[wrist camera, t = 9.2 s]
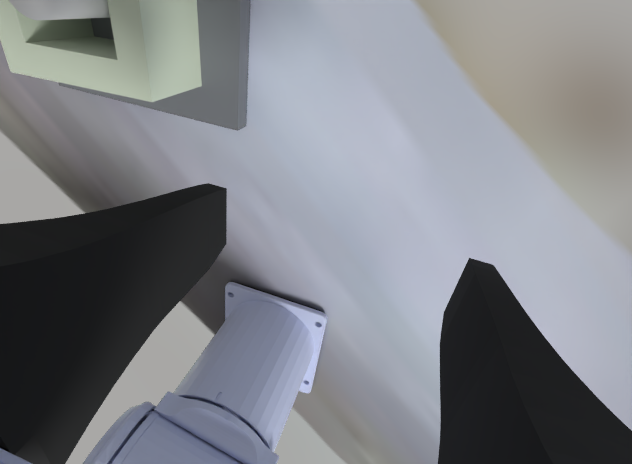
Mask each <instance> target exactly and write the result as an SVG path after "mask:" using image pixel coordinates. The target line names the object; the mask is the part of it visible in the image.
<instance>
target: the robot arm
mask: <svg viewBox="0 0 632 464" xmlns="http://www.w3.org/2000/svg"><path fill="white" fill-rule="evenodd" d="M225 245H226V188H223V187H219V186H216V185H212V184H209V183H208V184H202V185H197V186H193V187H189V188H185V189H182V190H178V191H175V192H171V193H167V194H164V195H160V196H157V197H153V198H149V199H146V200H142V201H138V202H134V203H130V204H126V205H122V206H118V207H114V208H109V209H105V210H100V211H96V212H90V213H85V214H79V215H74V216H67V217H61V218H55V219H45V220H37V221H27V222H18V223H9V224H0V464H65V463H66V461H67V459H68V458H69V456H70V455H71V453H72V451H73V449H74V448H75V446H76V444H77V443H78V441H79V440H80V438H81V436H82V435H83V433H84V431H85V430H86V428H87V426H88V425H89V423H90V421H91V420H92V418H93V417H94V415H95V414H96V412H97V411H98V409H99V408H100V406H101V405H102V403H103V401H104V400H105V398H106V397H107V395H108V394H109V392H110V391H111V389H112V387H113V386H114V384H115V383H116V382H117V380H118V379H119V377H120V376H121V375H122V373H123V372H124V370H125V369H126V367H127V366H128V365H129V363H130V362H131V360H132V359H133V357H134V356H135V355H136V353H137V352H138V351H139V349H140V348H141V347H142V345H143V344H144V343H145V341H146V340H147V338H148V337H149V336H150V334H151V333H152V332H153V330H154V329H155V328H156V327H157V326H158V324H159V323H160V322H161V321H162V320H163V319H164V317H165V316H166V315H167V314H168V313H169V312H170V311H171V310H172V309H173V308H174V306H176V304H177V303H178V302H179V301H180V300H181V299H182V298H183V297H184V296H185V295H186V294H187V293H188V291H189V290H190V289H191V288H192V287H193V286H194V285H195V284H196V283H197V282H198V281H199V279H200V278H201V277H202V276H203V275H204V274H205V273H206V272H207V270H208V269H209V268H210V267H211V265H212V264H213V263H214V261H215V260H216V258H217V257H218V255H219V254H220V252H221V251H222V249H223V248H224V246H225ZM232 293H233V294H232ZM318 322H319V323H318ZM326 322H327V316H326V314H325V313H323V312H321V311H318V310H315V309H312V308H309V307H306V306H303V305H300V304H297V303H294V302H291V301H288V300H285V299H282V298H279V297H276V296H273V295H270V294H267V293H264V292H261V291H258V290H255V289H252V288H249V287H246V286H243V285H240V284H237V283H234V282H229V283H227V285H226V286H225V322H224V323H223V325H222V326H221V327H220V329H219V330H218V332H217V333H216V334H215V336H214V337H213V338H212V340H211V341H210V343H209V344H208V345H207V347H206V348H205V350H204V351H203V352H202V354H201V355H200V357H199V358H198V359H197V361H196V362H195V363H194V365H193V366H192V368H191V369H190V371H189V372H188V373H187V375H186V376H185V377H184V379H183V380H182V381H181V383H180V384H179V386H178V387H177V388H176V390H175V391H174V393H171V392H167V393H166V394H165V396H164V397H163V398H162V400H161V401H160V403H159V404H158V405H157V407H156V406H154V405H153V404H152V403H150V402H144V403H142V404H141V405H138V406H135V407H132V408H130V409H129V410H127V411H126V412H125V413H124V414H123V415H122V416H121V417H120V418H119V419H118V420H117V421H116V422H115V423H114V424H113V425H112V426H111V428H110V429H109V430H108V431H107V432H106V433H105V435H104V436H103V437H102V438H101V440H100V441H99V442H98V444H97V445H96V446H95V447H94V449H93V450H92V452H91V453H90V454H89V455H88V457H87V458H86V460H85V461H84V463H83V464H277V462H278V459H279V456H278V455H277V454H275V453H274V451H275V449H276V446H277V444H278V441H279V439H280V436H281V434H282V431H283V429H284V426H285V424H286V421H287V419H288V416H289V414H290V411H291V409H292V406H293V404H294V401H295V399H296V396H297V394H298V391H301V392H304V393H310V392H311V389H312V385H313V381H314V376H315V372H316V367H317V363H318V358H319V354H320V349H321V345H322V340H323V336H324V331H325V327H326ZM320 323H321V324H320ZM440 399H441V431H440V447H439V458H438V464H632V431H631V430H630V429H629V428H628V427H627V426H626V425H625V424H624V423H623V422H622V421H621V420H620V419H618V418H617V417H616V416H615V415H614V414H613V413H612V412H611V411H610V410H609V409H608V408H607V407H606V406H605V405H604V404H603V403H602V402H601V401H600V400H599V399H598V398H597V397H596V396H595V395H594V394H593V392H592V391H591V390H590V389H589V388H588V387H587V386H586V385H585V384H584V383H583V382H582V381H581V380H580V378H579V377H578V376H577V375H576V374H575V373H574V372H573V371H572V370H571V369H570V368H569V366H568V365H567V364H566V363H565V362H564V361H563V359H562V358H561V357H560V356H559V355H558V353H557V352H556V351H555V350H554V348H553V347H552V346H551V345H550V343H549V342H548V341H547V340H546V339H545V337H544V336H543V335H542V333H541V332H540V331H539V329H538V328H537V327H536V326H535V324H534V323H533V321H532V320H531V319H530V317H529V316H528V315H527V313H526V312H525V310H524V309H523V308H522V306H521V305H520V303H519V302H518V300H517V299H516V297H515V296H514V295H513V293H512V292H511V290H510V289H509V287H508V286H507V284H506V283H505V281H504V280H503V278H502V277H501V275H500V274H499V272H498V271H497V270H496V268H495V267H494V266H493V265H492V264H488V263H485V262H481V261H478V260H474V259H471V258H469V260H468V262H467V264H466V266H465V268H464V271H463V273H462V275H461V277H460V279H459V281H458V283H457V286H456V288H455V290H454V292H453V294H452V296H451V298H450V301H449V303H448V305H447V307H446V309H445V311H444V316H443V323H442V331H441V340H440Z"/></svg>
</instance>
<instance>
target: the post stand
mask: <svg viewBox="0 0 632 464" xmlns="http://www.w3.org/2000/svg"><path fill="white" fill-rule="evenodd" d="M9 1H10V3H11V4H12V5H13V6H14V7H15V8H16V9H17V10H18V11H19V12H20V13H22V14H23V15H25V16H26V17H28V18H30V19H33V20H60V19H85V18H91V23H92V28H93V33H94V36H95V37H101V38H106V39H112V40H114V37H113V31H112V25H111V19H110V13H109V7H108V1H107V0H9ZM197 13H198V30H199V47H200V64H201V81H202V86H201V87H197V88H194V89H191V90H188V91H185V92H182V93H179V94H176V95H173V96H170V97H167V98H164V99H161V100H158V101H155V102H149V101H144V100H139V99H135V98H130V97H125V96H121V95H116V94H111V93H107V92H102V91H97V90H93V89H88V88H83V87H79V86H74V85H69V84H65V83H60V82H58V83H59V85H60V86H64V87H68V88H72V89H76V90H80V91H84V92H87V93H91V94H95V95H99V96H103V97H107V98H111V99H115V100H119V101H123V102H127V103H131V104H135V105H139V106H143V107H147V108H151V109H154V110H158V111H162V112H166V113H170V114H174V115H178V116H182V117H186V118H190V119H194V120H198V121H202V122H206V123H210V124H214V125H218V126H221V127H225V128H229V129H233V130H237V131H238V130H240V129H241V128H243V127H245V126H246V113H247V83H248V53H249V24H250V0H197Z"/></svg>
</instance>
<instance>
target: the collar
mask: <svg viewBox="0 0 632 464" xmlns="http://www.w3.org/2000/svg"><path fill="white" fill-rule="evenodd" d="M107 1H108V7H109V13H110V19H111V25H112V31H113V37H114V40H112V39H106V38H101V37H95V36H94V33H93V28H92V23H91V18H85V19H60V20H33V19H30V18H28V17H26V16H25V15H23V14H22V13H20V12H19V11H18V10H17V9H16V8H15V7H14V6H13V5H12V4H11V3H10V1H9V0H0V40H1V43H2V46H3V49H4V52H5V56H6V59H7V62H8V65H9V68H10V71H11V72H13V73H18V74H23V75H27V76H32V77H37V78H41V79H46V80H51V81H55V82H60V83H65V84H69V85H74V86H79V87H83V88H88V89H93V90H97V91H102V92H107V93H111V94H116V95H121V96H125V97H130V98H135V99H139V100H144V101H149V102H155V101H158V100H161V99H164V98H167V97H170V96H173V95H176V94H179V93H182V92H185V91H188V90H191V89H194V88H197V87H201V86H202V81H201V64H200V47H199V30H198V13H197V0H107Z"/></svg>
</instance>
